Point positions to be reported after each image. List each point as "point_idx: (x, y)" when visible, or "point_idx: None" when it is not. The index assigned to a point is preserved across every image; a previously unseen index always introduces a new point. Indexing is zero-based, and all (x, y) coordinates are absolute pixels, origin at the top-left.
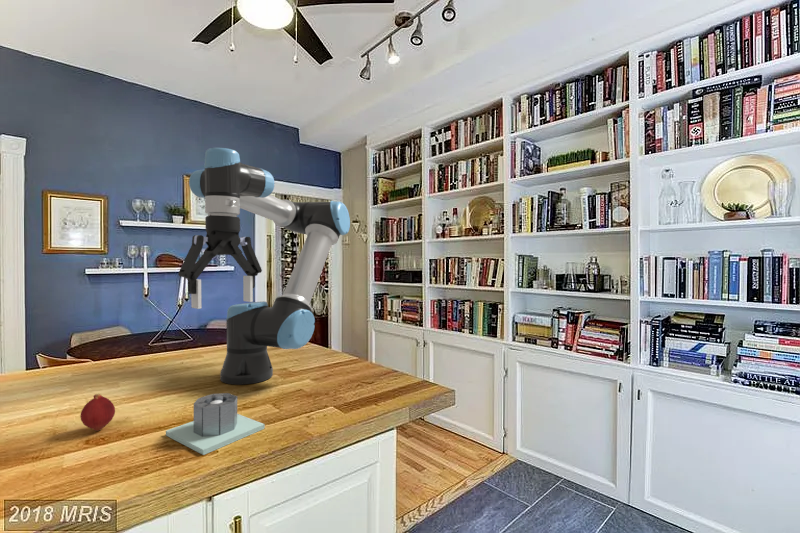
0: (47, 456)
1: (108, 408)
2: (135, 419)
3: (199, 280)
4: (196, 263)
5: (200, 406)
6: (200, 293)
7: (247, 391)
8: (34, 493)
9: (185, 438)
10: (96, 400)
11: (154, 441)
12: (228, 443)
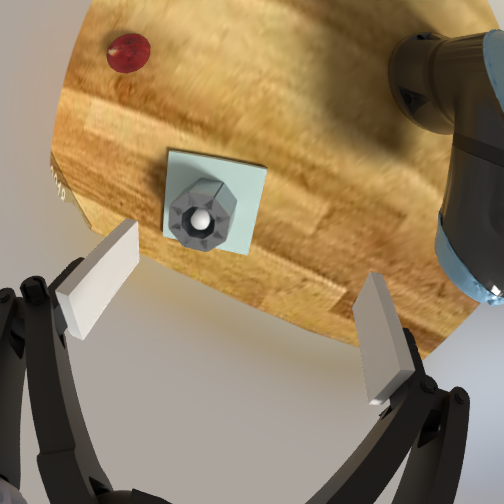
0: (85, 87)
1: (127, 69)
2: (186, 58)
3: (78, 334)
4: (29, 373)
5: (169, 221)
6: (109, 296)
7: (369, 130)
8: (61, 159)
9: (168, 194)
10: (111, 58)
11: (155, 152)
12: None
